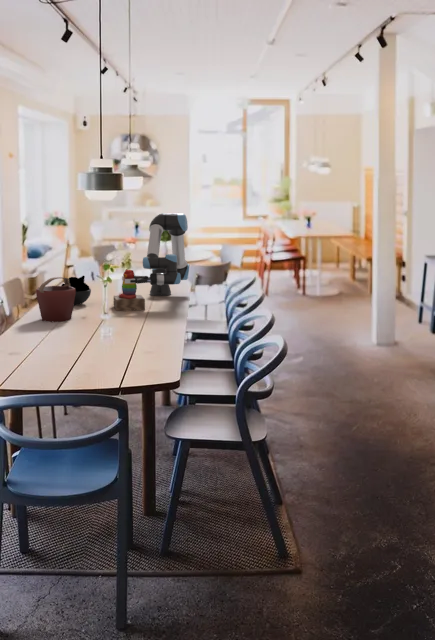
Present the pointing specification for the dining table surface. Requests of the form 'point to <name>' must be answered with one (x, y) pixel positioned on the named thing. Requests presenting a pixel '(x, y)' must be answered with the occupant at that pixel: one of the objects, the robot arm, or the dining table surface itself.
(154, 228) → the robot arm
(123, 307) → the walnut block
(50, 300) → the bucket
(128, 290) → the stacking bear
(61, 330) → the dining table surface
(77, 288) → the coal bowl
